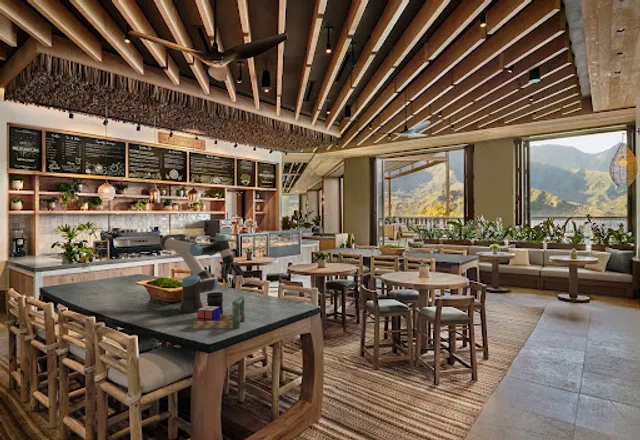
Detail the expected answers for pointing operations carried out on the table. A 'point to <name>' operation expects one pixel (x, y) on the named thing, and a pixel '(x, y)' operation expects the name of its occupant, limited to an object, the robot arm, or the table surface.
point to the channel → (226, 317)
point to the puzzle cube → (208, 313)
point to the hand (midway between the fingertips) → (236, 285)
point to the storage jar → (215, 300)
